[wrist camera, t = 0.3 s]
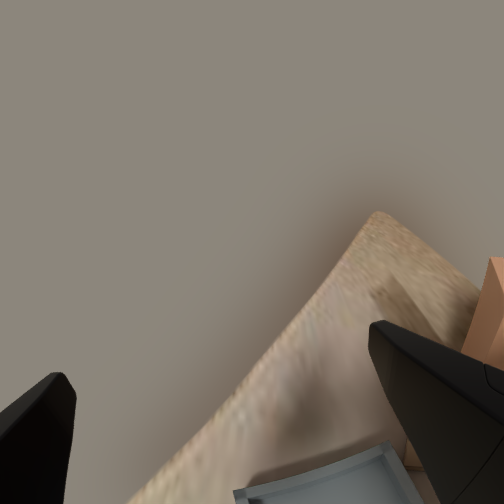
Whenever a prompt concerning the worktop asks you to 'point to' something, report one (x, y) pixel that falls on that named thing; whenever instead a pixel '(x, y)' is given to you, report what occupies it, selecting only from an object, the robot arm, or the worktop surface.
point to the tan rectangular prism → (488, 319)
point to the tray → (342, 483)
